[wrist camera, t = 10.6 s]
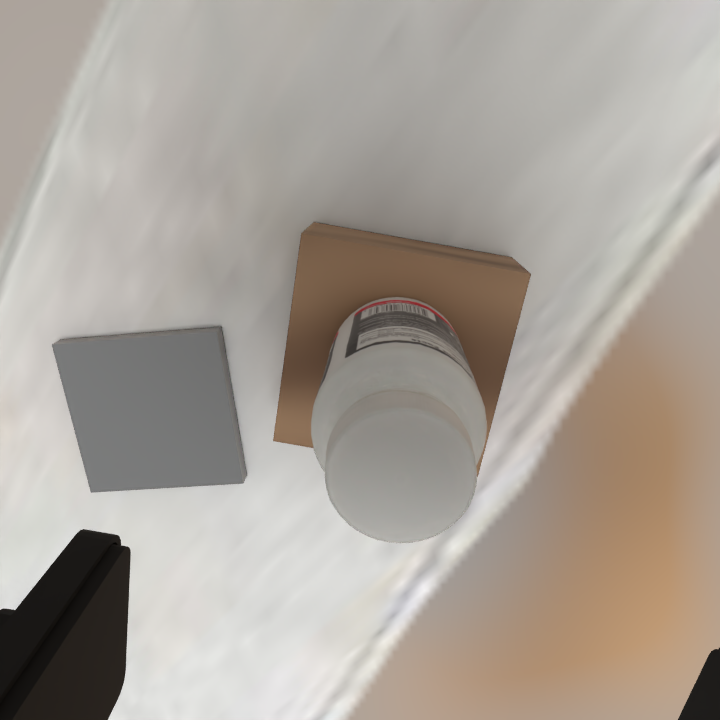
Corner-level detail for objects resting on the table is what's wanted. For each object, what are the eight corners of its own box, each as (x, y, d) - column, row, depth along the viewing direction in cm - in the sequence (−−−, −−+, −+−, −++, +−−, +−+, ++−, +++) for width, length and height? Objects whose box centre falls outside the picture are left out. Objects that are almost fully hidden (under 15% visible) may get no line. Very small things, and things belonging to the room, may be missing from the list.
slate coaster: (60, 339, 30) (51, 344, 29) (221, 326, 29) (216, 331, 28) (98, 484, 32) (91, 492, 32) (246, 475, 32) (243, 483, 31)
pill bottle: (406, 442, 26) (415, 600, 17) (304, 369, 25) (255, 494, 16) (490, 347, 25) (549, 463, 15) (384, 266, 24) (380, 338, 15)
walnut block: (313, 222, 27) (301, 233, 24) (511, 257, 27) (530, 274, 24) (288, 404, 30) (273, 440, 26) (467, 436, 30) (477, 476, 27)
